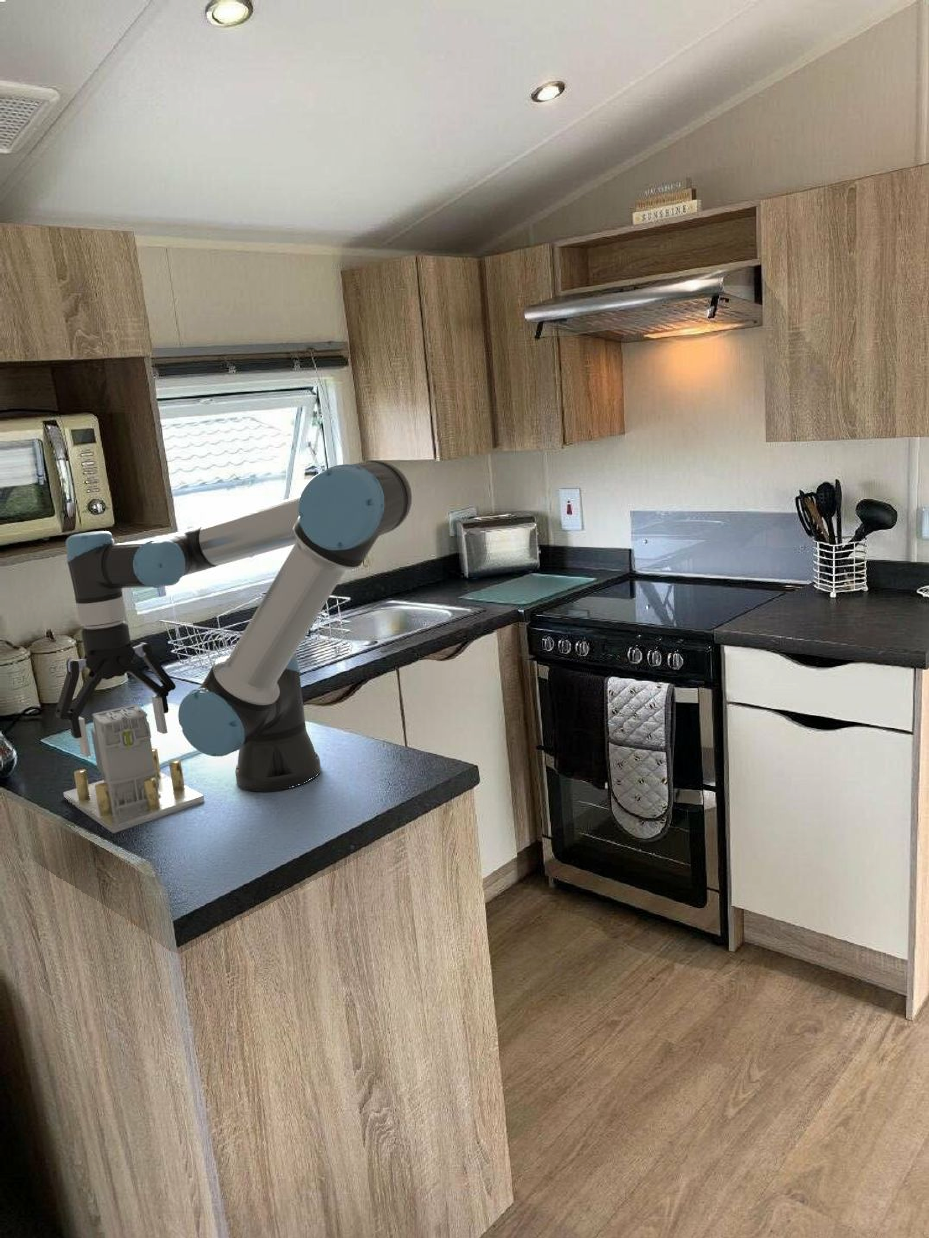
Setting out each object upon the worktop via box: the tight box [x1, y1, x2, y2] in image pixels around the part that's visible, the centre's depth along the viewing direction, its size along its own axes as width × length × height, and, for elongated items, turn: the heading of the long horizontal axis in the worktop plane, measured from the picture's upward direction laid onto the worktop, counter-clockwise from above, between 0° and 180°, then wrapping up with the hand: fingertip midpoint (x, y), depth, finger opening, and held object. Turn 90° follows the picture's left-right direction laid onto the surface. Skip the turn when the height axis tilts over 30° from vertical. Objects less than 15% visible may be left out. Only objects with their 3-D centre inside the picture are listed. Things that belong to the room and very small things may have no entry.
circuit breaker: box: [90, 703, 161, 809], centre depth 169 cm, size 8×14×15 cm, turn 32°
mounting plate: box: [62, 748, 205, 834], centre depth 169 cm, size 23×16×6 cm
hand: (125, 743), depth 167 cm, fingers open, 13 cm apart
